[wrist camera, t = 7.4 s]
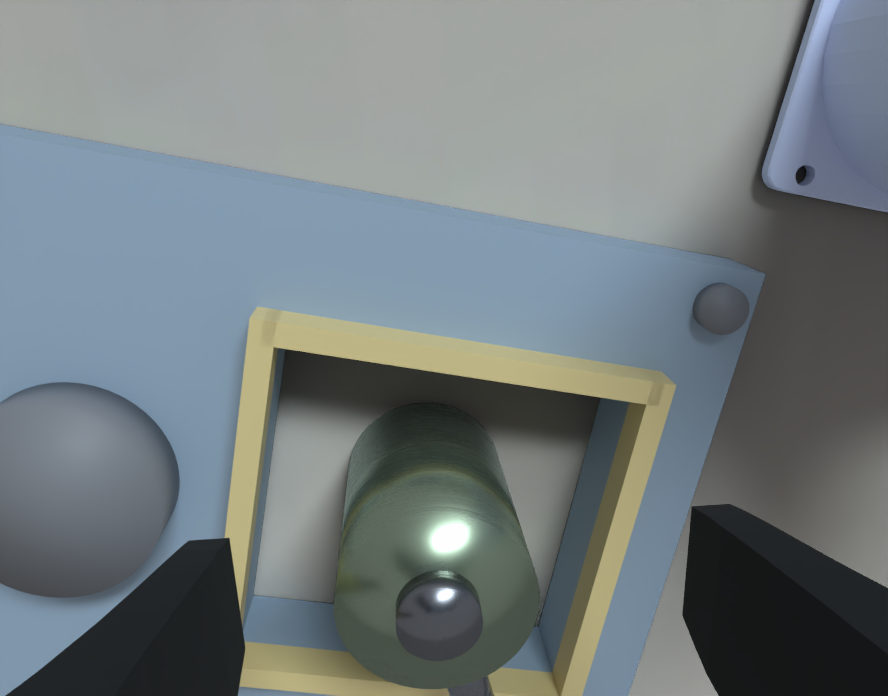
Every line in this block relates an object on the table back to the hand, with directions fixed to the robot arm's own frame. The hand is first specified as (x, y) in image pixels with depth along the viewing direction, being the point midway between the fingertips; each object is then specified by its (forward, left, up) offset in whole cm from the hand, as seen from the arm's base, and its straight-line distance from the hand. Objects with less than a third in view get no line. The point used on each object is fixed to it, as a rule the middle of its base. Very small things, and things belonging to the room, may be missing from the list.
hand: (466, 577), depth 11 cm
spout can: (0, +3, -9) cm, 10 cm away
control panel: (+3, +3, -9) cm, 10 cm away
